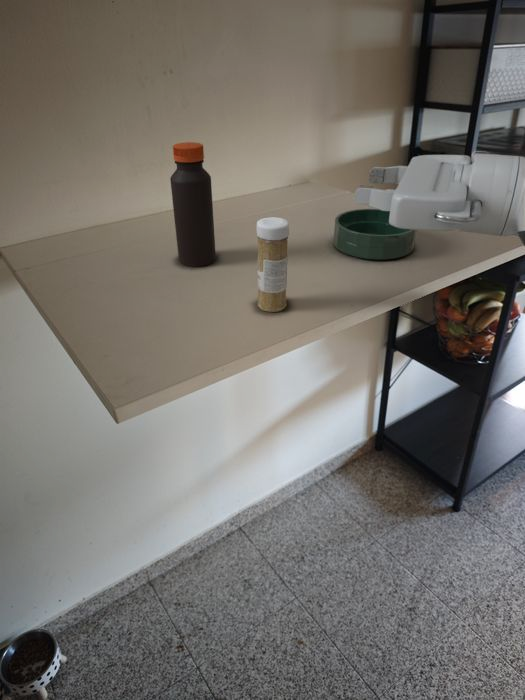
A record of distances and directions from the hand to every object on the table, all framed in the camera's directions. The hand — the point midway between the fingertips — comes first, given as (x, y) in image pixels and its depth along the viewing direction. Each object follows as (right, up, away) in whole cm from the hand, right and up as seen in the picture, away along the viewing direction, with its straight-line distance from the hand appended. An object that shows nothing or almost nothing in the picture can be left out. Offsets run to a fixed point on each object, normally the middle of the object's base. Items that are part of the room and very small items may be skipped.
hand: (363, 183), depth 62 cm
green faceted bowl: (+9, -1, +35) cm, 36 cm away
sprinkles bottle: (-11, -14, +15) cm, 23 cm away
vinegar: (-25, -4, +30) cm, 39 cm away
